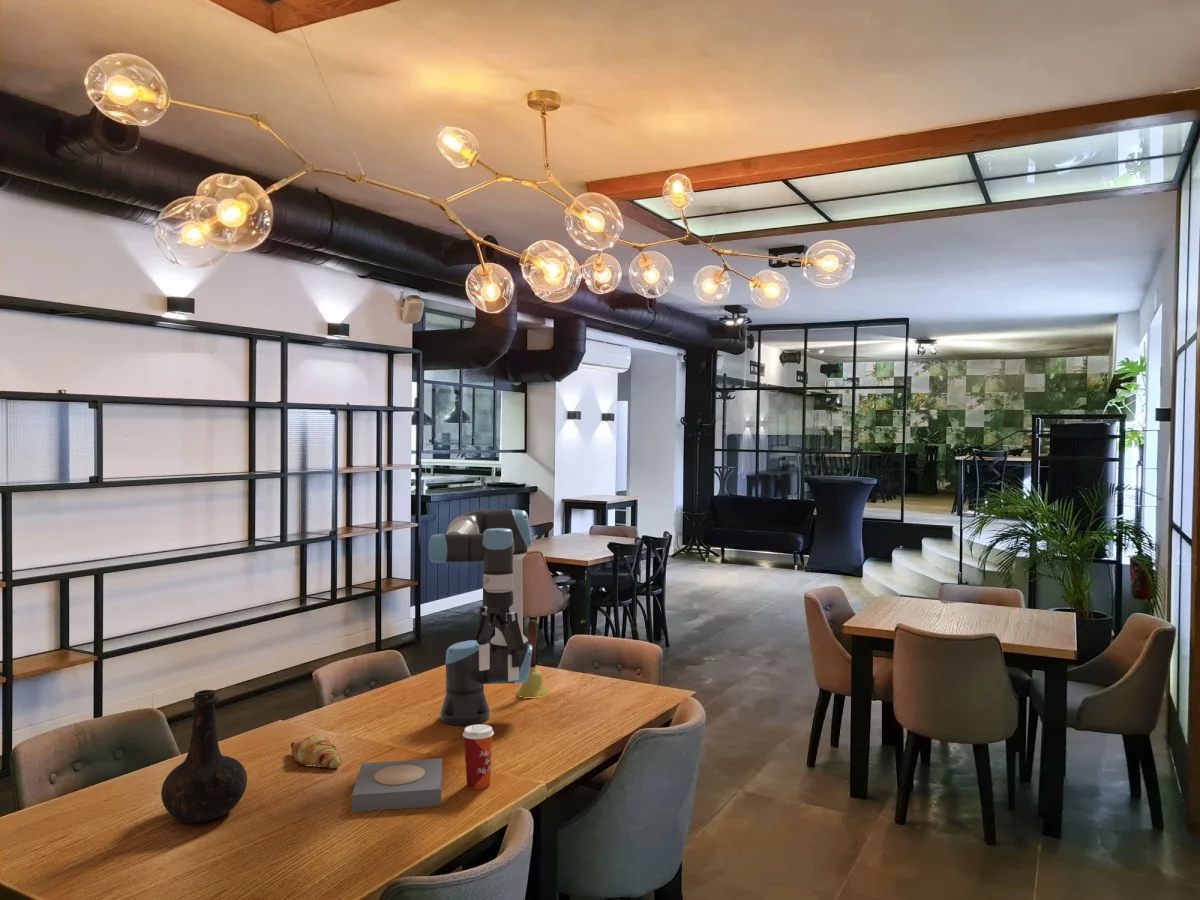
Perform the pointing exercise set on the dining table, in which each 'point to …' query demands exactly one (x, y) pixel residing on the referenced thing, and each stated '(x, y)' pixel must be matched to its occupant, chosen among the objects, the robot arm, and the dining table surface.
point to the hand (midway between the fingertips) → (498, 675)
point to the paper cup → (478, 755)
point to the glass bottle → (204, 771)
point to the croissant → (316, 752)
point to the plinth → (398, 785)
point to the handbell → (532, 669)
